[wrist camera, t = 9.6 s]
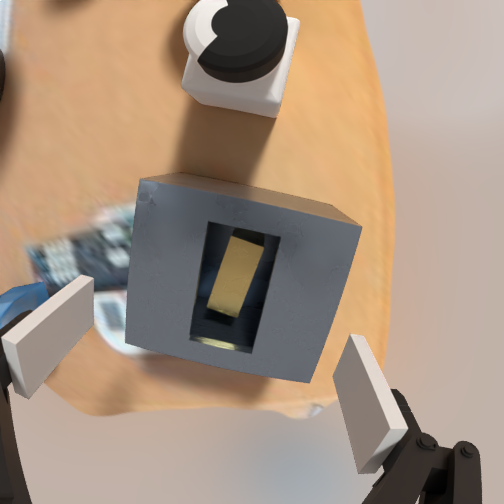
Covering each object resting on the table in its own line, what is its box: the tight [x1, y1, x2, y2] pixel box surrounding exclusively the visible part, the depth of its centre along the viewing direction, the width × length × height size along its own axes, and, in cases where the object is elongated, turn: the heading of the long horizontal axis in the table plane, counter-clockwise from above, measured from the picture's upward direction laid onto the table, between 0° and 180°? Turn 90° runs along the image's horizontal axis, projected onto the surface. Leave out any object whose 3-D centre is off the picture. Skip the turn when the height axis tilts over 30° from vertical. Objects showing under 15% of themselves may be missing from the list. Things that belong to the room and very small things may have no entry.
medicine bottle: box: [181, 0, 300, 118], centre depth 20 cm, size 7×7×12 cm
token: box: [207, 227, 265, 318], centre depth 27 cm, size 2×6×6 cm, turn 160°
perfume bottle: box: [0, 282, 49, 329], centre depth 28 cm, size 6×6×12 cm
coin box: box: [125, 172, 362, 383], centre depth 25 cm, size 14×12×10 cm
